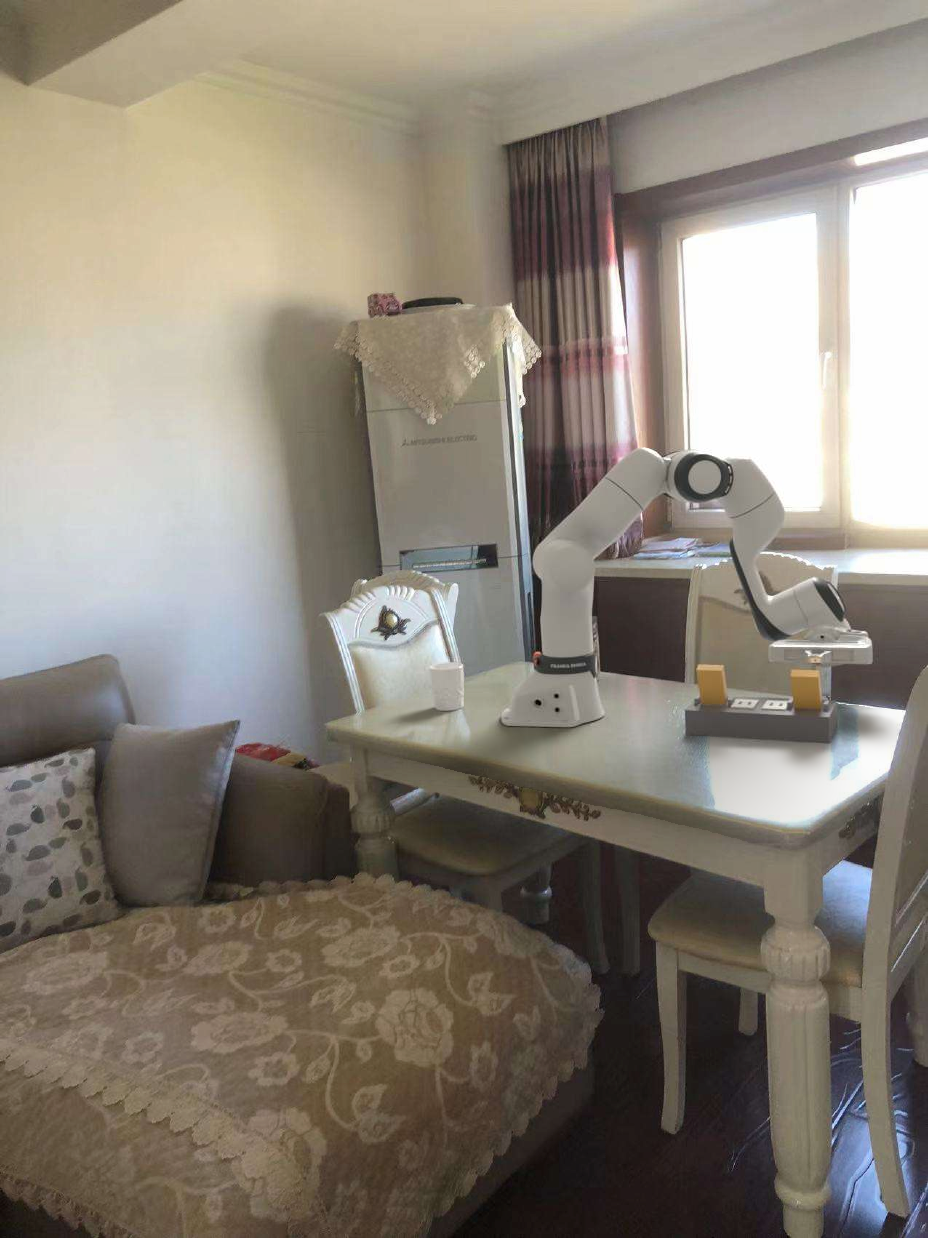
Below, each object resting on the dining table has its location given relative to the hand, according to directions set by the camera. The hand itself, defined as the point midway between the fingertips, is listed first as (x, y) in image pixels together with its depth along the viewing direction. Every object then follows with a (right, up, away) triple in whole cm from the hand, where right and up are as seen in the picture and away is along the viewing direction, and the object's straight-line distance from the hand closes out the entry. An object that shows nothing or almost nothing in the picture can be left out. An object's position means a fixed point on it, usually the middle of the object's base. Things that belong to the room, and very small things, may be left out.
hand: (815, 660), depth 198 cm
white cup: (-73, -13, +34) cm, 82 cm away
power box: (-11, -14, -2) cm, 18 cm away
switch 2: (-4, -8, -7) cm, 11 cm away
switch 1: (-20, -8, +2) cm, 21 cm away
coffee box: (-40, -8, +48) cm, 63 cm away
